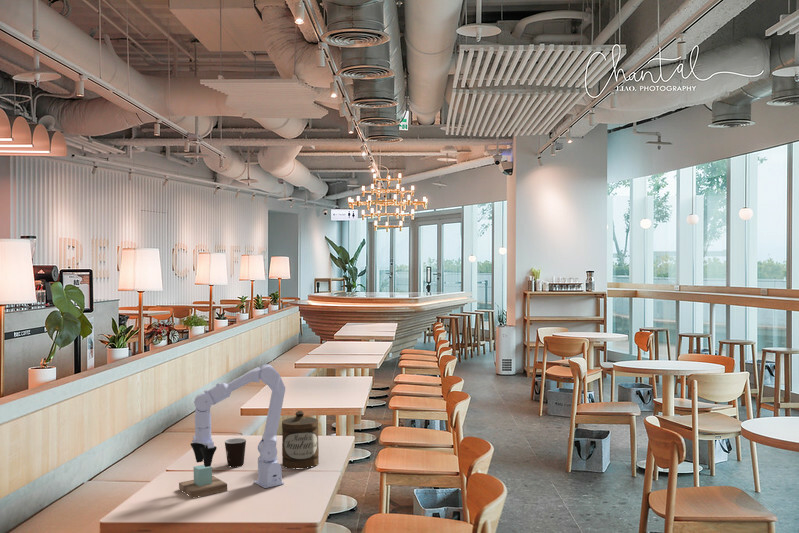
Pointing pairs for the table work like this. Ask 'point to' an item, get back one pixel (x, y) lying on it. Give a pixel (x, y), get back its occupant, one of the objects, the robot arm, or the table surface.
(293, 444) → the wooden container
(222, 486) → the walnut plinth
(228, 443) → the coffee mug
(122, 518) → the table surface
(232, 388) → the robot arm
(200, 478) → the teal block
